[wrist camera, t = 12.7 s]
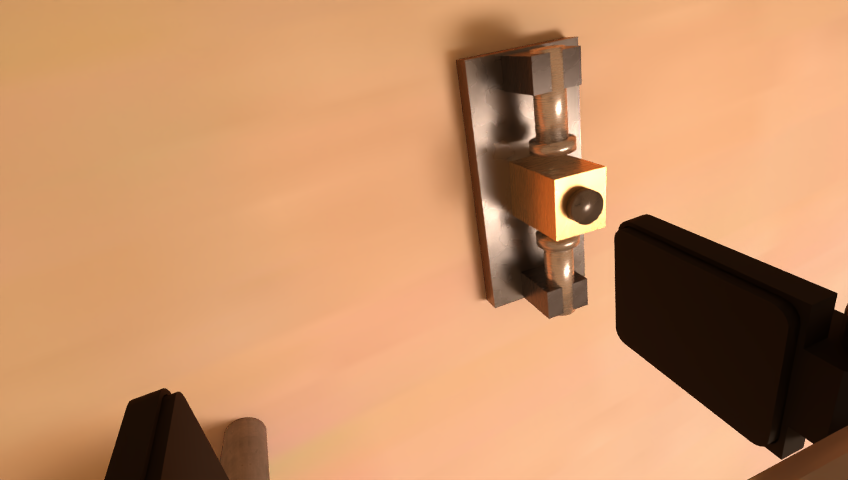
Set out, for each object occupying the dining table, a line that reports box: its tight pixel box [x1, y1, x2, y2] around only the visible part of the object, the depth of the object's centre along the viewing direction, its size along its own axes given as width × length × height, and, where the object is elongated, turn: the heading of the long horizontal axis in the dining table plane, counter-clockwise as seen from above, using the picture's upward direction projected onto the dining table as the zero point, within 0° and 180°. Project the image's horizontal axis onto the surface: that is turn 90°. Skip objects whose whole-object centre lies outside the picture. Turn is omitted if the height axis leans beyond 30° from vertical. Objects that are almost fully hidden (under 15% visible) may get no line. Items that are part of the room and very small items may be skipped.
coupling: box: [509, 155, 606, 241], centre depth 35 cm, size 4×4×7 cm
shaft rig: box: [456, 37, 588, 319], centre depth 36 cm, size 20×9×6 cm, turn 10°
